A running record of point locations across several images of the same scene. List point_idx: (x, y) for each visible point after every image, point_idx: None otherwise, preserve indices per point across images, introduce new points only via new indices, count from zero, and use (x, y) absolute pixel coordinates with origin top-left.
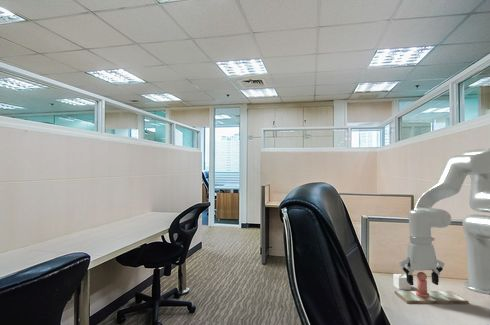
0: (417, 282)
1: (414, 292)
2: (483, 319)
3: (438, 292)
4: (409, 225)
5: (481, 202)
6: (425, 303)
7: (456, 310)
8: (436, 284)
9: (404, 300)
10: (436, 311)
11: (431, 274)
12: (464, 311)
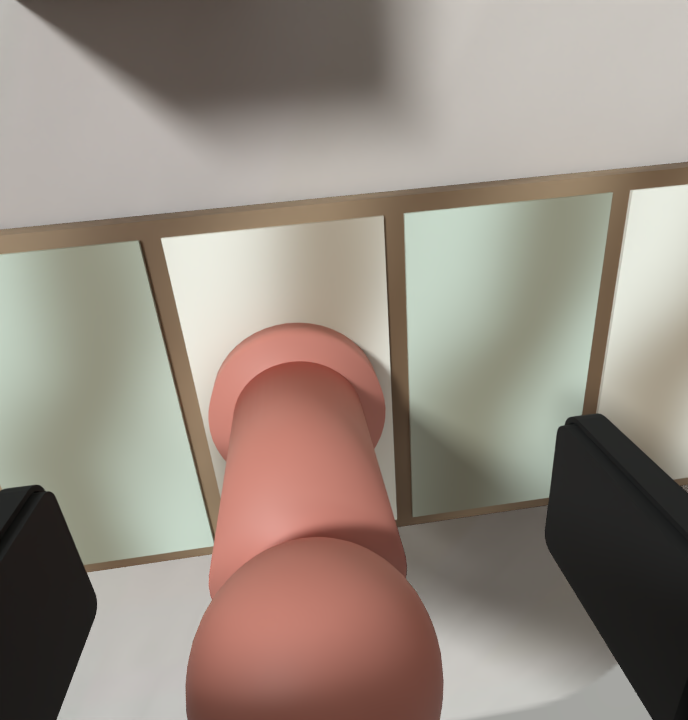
0: (219, 516)
1: (219, 290)
2: (577, 689)
3: (605, 248)
4: None
5: None
6: None
7: (488, 597)
8: (552, 545)
9: None
10: None
11: (677, 553)
12: (543, 603)
